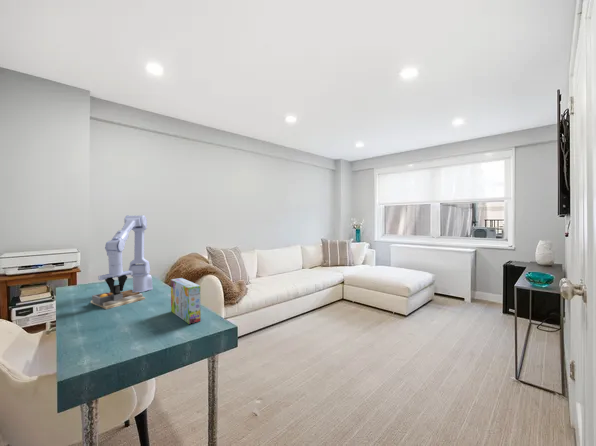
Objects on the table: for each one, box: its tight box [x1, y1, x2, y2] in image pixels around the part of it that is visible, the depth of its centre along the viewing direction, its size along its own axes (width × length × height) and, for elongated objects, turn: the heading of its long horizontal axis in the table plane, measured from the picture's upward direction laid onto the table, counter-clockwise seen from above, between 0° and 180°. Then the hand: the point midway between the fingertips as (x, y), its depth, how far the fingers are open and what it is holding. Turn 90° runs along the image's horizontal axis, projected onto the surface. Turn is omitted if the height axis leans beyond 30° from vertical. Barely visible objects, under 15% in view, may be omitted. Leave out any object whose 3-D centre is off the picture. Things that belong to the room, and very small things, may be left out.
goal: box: [91, 292, 112, 305], centre depth 140 cm, size 6×9×3 cm
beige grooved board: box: [90, 289, 146, 310], centre depth 145 cm, size 18×18×3 cm
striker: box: [107, 284, 123, 301], centre depth 141 cm, size 4×10×8 cm, turn 56°
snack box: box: [170, 277, 202, 325], centre depth 122 cm, size 21×6×15 cm, turn 43°
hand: (116, 291), depth 139 cm, fingers open, 3 cm apart
